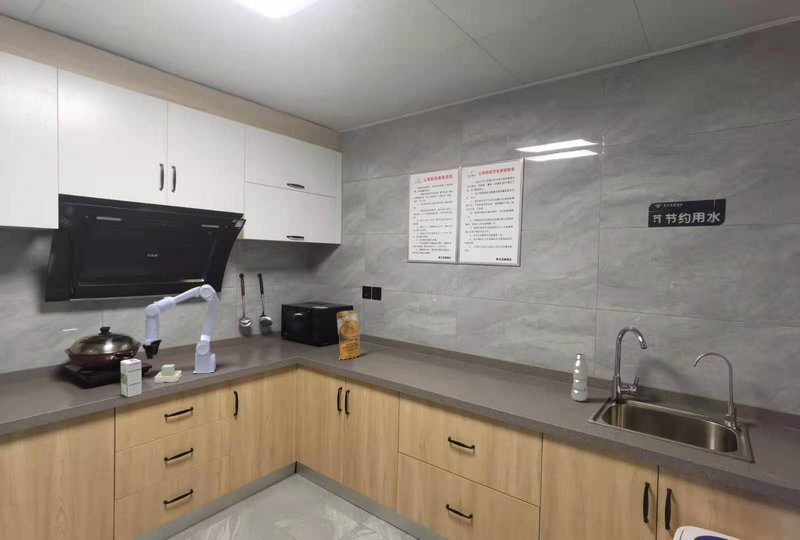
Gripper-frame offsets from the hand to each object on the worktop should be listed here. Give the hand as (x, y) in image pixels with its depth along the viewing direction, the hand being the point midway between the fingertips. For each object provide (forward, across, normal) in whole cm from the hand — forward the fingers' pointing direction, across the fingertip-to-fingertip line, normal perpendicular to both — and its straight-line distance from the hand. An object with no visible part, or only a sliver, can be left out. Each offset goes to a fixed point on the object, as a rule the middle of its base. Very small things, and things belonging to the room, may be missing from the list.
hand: (152, 356), depth 197 cm
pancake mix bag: (+10, -15, +99) cm, 101 cm away
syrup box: (+10, +27, -1) cm, 29 cm away
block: (+9, +9, +9) cm, 15 cm away
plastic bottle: (+10, +80, +183) cm, 200 cm away
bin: (+9, +9, +9) cm, 16 cm away
